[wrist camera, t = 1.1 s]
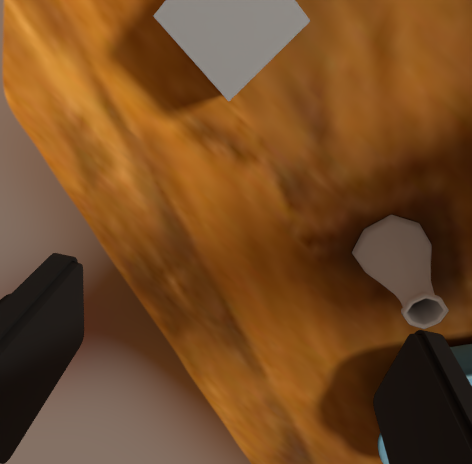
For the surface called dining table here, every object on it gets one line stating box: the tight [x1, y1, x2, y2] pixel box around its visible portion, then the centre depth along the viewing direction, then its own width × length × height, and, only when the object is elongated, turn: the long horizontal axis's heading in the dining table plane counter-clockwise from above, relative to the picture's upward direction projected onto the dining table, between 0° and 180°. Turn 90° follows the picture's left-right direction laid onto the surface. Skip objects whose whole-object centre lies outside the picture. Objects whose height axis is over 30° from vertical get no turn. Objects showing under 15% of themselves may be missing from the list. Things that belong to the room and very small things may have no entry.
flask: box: [352, 215, 449, 329], centre depth 33 cm, size 7×7×10 cm
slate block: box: [154, 0, 310, 101], centre depth 26 cm, size 7×7×7 cm
